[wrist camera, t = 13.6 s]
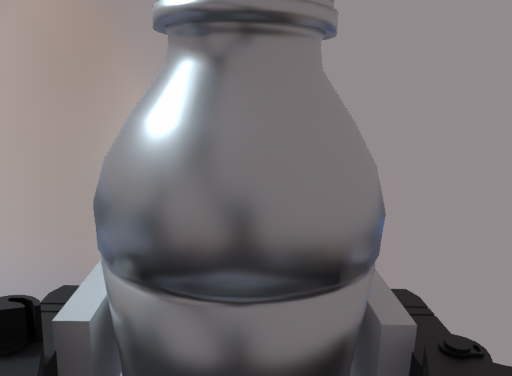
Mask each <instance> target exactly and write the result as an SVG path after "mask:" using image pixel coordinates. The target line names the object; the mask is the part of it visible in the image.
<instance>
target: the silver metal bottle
mask: <svg viewBox="0 0 512 376" xmlns="http://www.w3.org/2000/svg"><path fill="white" fill-rule="evenodd" d="M337 23H338V12H337V10H336V9H334V0H158V2H156V3H154V5H153V29H154V30H155V31H157V32H159V33H163V34H167V35H168V48H167V55H166V61H165V65H164V66H163V68H162V69H161V71H160V72H159V73H158V75H157V76H156V78H155V79H154V80H153V82H152V83H151V85H150V86H149V87H148V89H147V90H146V92H145V93H144V94H143V96H142V97H141V99H140V100H139V101H138V103H137V104H136V106H135V107H134V108H133V110H132V111H131V113H130V114H129V116H128V117H127V119H126V121H125V123H124V125H123V126H122V128H121V130H120V132H119V133H118V135H117V137H116V138H115V140H114V142H113V144H112V146H111V147H110V149H109V151H108V152H107V154H106V156H105V158H104V161H103V165H102V169H101V173H100V177H99V181H98V184H97V188H96V192H95V197H94V202H93V209H94V217H95V224H96V233H97V244H98V250H99V251H100V253H101V265H102V270H103V275H104V280H105V286H106V291H107V296H108V301H109V306H110V311H111V316H112V321H113V327H114V332H115V337H116V342H117V347H118V352H119V357H120V362H121V368H122V376H350V370H351V366H352V362H353V358H354V354H355V350H356V346H357V342H358V338H359V334H360V329H361V325H362V321H363V317H364V313H365V309H366V305H367V301H368V297H369V293H370V288H371V284H372V280H373V276H374V272H375V261H376V259H377V258H378V256H379V252H380V245H381V238H382V232H383V226H384V221H385V215H386V214H385V207H384V202H383V196H382V192H381V186H380V181H379V176H378V171H377V166H376V164H375V162H374V160H373V158H372V156H371V154H370V152H369V150H368V148H367V146H366V143H365V141H364V139H363V137H362V135H361V133H360V131H359V129H358V127H357V125H356V123H355V121H354V120H353V118H352V116H351V115H350V113H349V111H348V110H347V108H346V107H345V105H344V103H343V102H342V100H341V98H340V97H339V95H338V94H337V92H336V90H335V89H334V87H333V86H332V84H331V82H330V81H329V79H328V77H327V76H326V74H325V73H324V71H323V68H322V58H321V41H322V40H326V39H330V38H333V37H335V36H336V35H337Z"/></svg>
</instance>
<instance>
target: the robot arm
mask: <svg viewBox="0 0 512 376" xmlns="http://www.w3.org/2000/svg"><path fill="white" fill-rule="evenodd" d="M121 371H122V368H121V362H120V357H119V352H118V347H117V342H116V337H115V332H114V327H113V321H112V316H111V311H110V306H109V301H108V296H107V291H106V286H105V280H104V275H103V270H102V265H101V260H100V262H99V263H98V264H97V265H96V266H95V268H94V269H93V270H92V271H91V273H90V274H89V275H88V276H87V278H86V279H85V280H84V281H83V283H82V284H81V285H80V286H73V285H71V286H69V285H64V286H62V287H60V288H58V289H56V290H54V291H52V292H50V293H49V294H48V295H47V296H46V297H45V298H44V299H43V300H42V301H41V302H40V301H39V300H38V299H36V298H34V297H32V296H26V295H9V296H4V297H0V376H120V374H121ZM350 376H512V367H510V366H505V365H501V364H497V363H493V361H492V359H491V356H490V354H489V353H488V352H487V350H486V349H485V348H484V347H482V346H481V345H480V344H478V343H477V342H475V341H472V340H470V339H468V338H465V337H462V336H457V335H454V334H451V333H450V332H449V331H448V330H447V329H446V327H445V326H444V325H443V324H442V323H441V322H440V321H439V319H438V318H437V317H436V316H434V313H433V312H432V311H431V310H430V309H429V308H428V306H426V304H425V303H424V302H423V301H422V299H421V298H420V297H418V296H417V295H415V294H413V293H412V292H410V291H408V290H406V289H390V288H389V287H388V285H387V284H386V283H385V281H384V280H383V279H382V277H381V276H380V275H379V273H378V272H377V271H376V269H375V272H374V276H373V280H372V284H371V288H370V293H369V297H368V301H367V305H366V309H365V313H364V317H363V321H362V325H361V329H360V334H359V338H358V342H357V346H356V350H355V354H354V358H353V362H352V366H351V370H350Z"/></svg>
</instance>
